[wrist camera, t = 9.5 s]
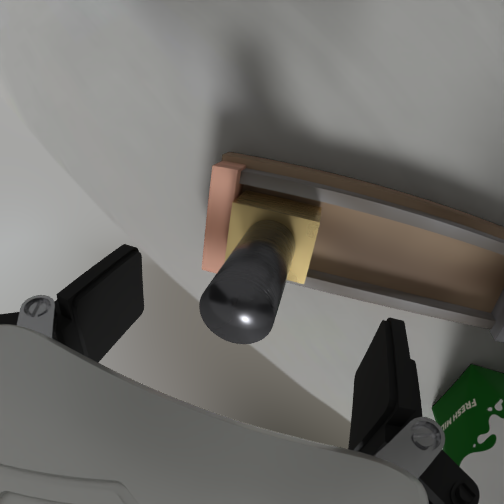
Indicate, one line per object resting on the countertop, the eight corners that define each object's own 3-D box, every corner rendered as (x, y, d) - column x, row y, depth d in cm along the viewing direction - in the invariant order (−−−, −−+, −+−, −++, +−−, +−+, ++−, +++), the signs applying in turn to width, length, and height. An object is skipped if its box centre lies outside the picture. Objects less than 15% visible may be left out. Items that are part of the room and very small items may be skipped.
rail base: (229, 151, 22) (209, 159, 18) (531, 238, 18) (555, 259, 14) (216, 253, 25) (197, 276, 22) (493, 320, 21) (508, 347, 18)
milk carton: (473, 420, 27) (493, 566, 9) (419, 410, 27) (426, 583, 10) (520, 370, 23) (569, 526, 5) (469, 353, 23) (516, 550, 6)
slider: (245, 190, 21) (178, 253, 12) (321, 207, 20) (311, 287, 11) (237, 245, 22) (176, 333, 14) (308, 262, 22) (287, 365, 13)
